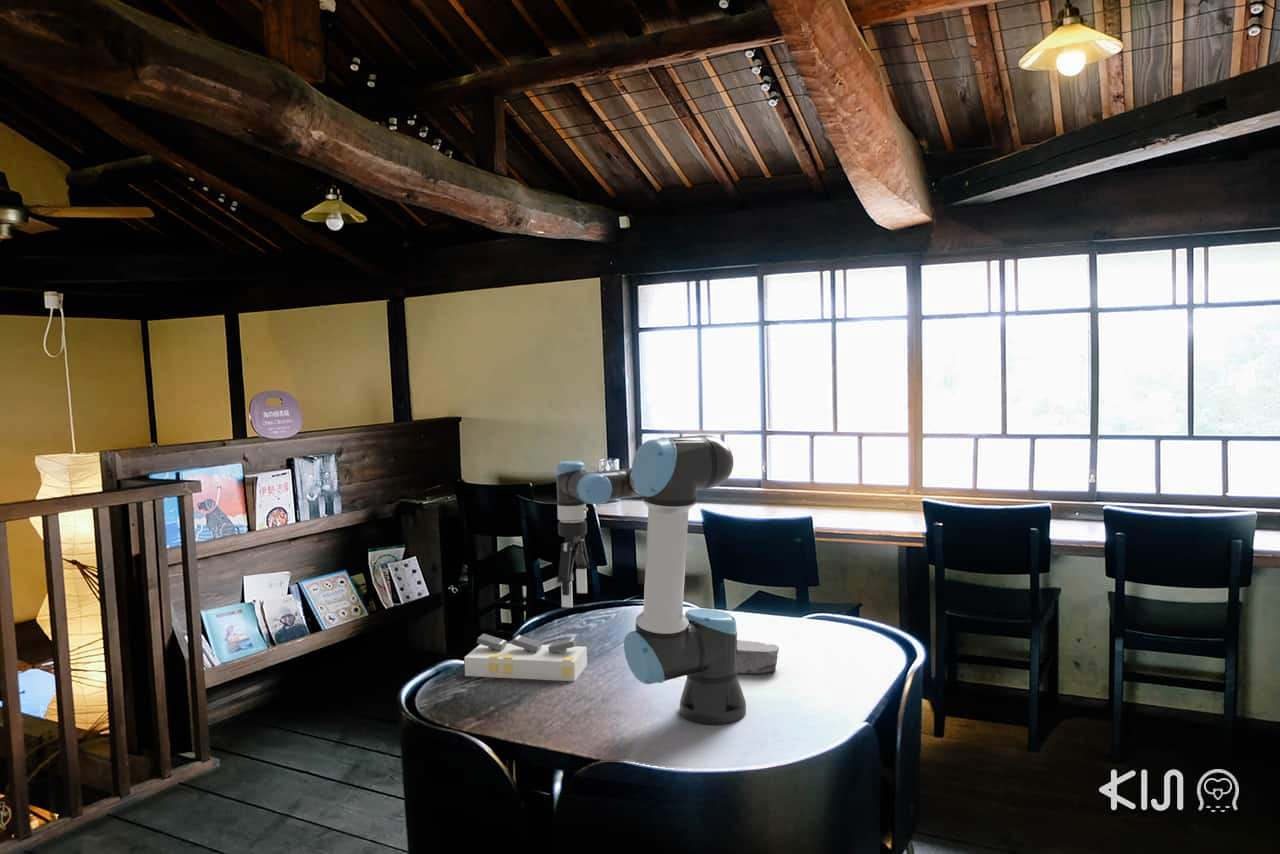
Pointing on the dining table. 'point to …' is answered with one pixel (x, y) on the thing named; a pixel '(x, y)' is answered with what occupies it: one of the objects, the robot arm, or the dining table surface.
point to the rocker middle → (527, 643)
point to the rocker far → (492, 642)
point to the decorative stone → (756, 658)
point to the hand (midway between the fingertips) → (574, 599)
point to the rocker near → (563, 644)
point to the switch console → (526, 663)
